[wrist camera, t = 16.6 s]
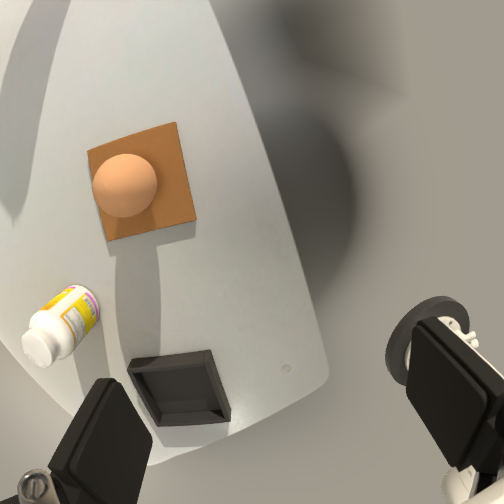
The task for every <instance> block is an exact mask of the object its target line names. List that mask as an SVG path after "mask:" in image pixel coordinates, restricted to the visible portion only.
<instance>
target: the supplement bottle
mask: <svg viewBox="0 0 504 504" xmlns="http://www.w3.org/2000/svg"><path fill="white" fill-rule="evenodd" d="M98 318H99V306H98V303H97V301H96V299H95V297H94V296H93V294H92V293H91V292H90V291H89V290H87V289H86V288H84V287H82V286H78V285H73V286H69V287H67V288H66V289H65V290H63V291H62V292H61V293H60V294H58V295H57V296H56V297H55V298H53V299H52V300H51V301H50V302H49V303H47V304H46V305H45V306H44V307H42V308H41V309H40V310H39V311H38V312H36V313H35V314H34V315H33V316H32V318H31V320H30V325H29V329H30V330H28V331H27V332H26V333H25V334H24V335H23V337H22V346H23V349H24V352H25V353H26V355H27V356H28V358H29V359H30V360H31V361H32V362H33V363H34V364H36V365H38V366H39V367H43V368H48V367H50V366H51V365H52V363H53V362H54V361H55V360H62V359H65V358H67V357H68V356H69V355H70V354H71V353H72V352H73V350H74V349H75V348H76V346H77V345H78V344H79V343H80V341H81V340H82V339H83V338H84V337H85V335H86V334H87V333H88V332H89V331H90V329H91V328H92V327H93V326H94V325H95V323H96V322H97V320H98Z"/></svg>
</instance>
